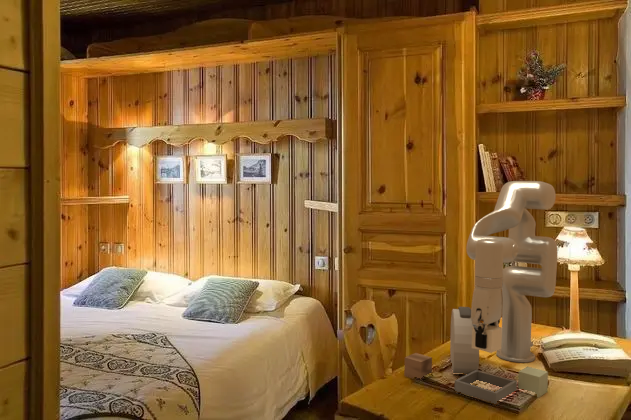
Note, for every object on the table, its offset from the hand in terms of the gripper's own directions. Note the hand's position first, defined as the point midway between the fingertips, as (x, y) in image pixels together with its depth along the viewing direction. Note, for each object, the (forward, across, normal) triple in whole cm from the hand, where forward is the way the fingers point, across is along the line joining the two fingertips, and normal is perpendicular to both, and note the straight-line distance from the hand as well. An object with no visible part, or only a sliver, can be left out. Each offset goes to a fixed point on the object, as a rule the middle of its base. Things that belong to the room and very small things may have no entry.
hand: (486, 344), depth 151 cm
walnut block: (+14, +3, -21) cm, 26 cm away
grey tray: (+14, 0, 0) cm, 14 cm away
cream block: (+1, 0, 0) cm, 1 cm away
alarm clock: (+14, -14, -15) cm, 25 cm away
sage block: (+14, -11, +9) cm, 20 cm away
